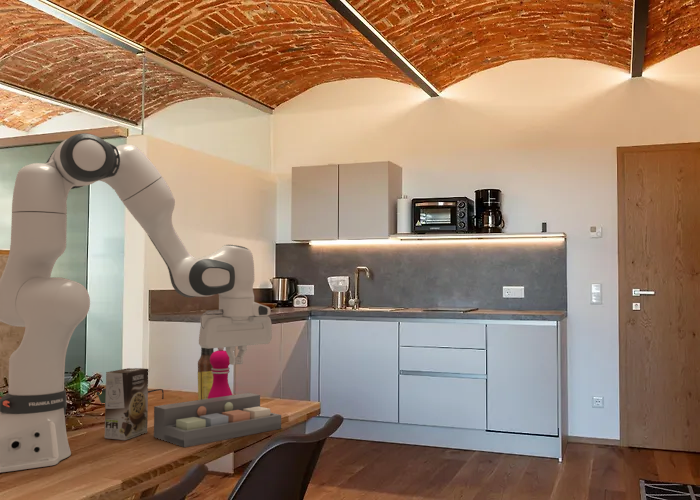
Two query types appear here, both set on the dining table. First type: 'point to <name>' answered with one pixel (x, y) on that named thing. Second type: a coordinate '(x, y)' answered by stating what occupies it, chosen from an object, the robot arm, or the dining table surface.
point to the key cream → (258, 412)
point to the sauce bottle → (205, 373)
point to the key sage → (190, 423)
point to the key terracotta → (237, 415)
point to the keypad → (185, 438)
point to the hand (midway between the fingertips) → (236, 364)
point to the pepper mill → (220, 374)
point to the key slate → (215, 419)
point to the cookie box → (126, 403)
